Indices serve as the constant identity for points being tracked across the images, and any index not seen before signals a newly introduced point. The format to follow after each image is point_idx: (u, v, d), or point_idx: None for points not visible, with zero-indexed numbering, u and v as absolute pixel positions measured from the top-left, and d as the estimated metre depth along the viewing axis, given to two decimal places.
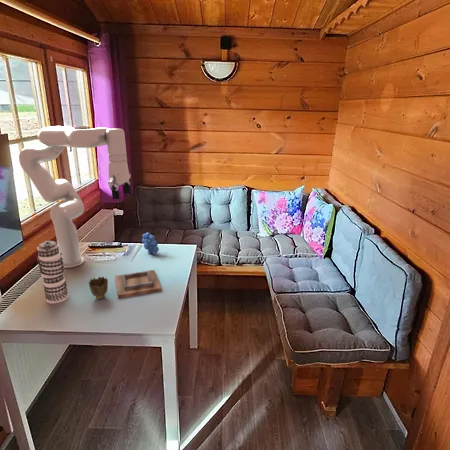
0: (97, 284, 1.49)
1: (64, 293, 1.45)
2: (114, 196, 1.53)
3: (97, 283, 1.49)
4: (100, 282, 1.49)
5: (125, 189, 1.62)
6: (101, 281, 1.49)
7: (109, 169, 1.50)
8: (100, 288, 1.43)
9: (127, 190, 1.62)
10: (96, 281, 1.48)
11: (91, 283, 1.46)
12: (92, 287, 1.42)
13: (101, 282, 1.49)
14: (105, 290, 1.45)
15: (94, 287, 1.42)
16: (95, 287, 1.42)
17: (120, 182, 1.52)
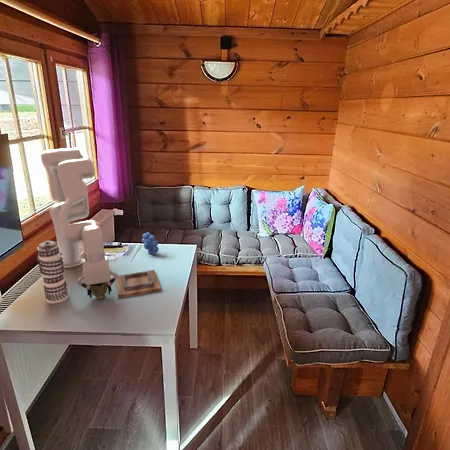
0: (97, 284, 1.49)
1: (64, 293, 1.45)
2: (111, 289, 1.48)
3: None
4: None
5: None
6: None
7: (108, 265, 1.43)
8: (100, 288, 1.43)
9: None
10: None
11: None
12: (92, 287, 1.42)
13: None
14: (105, 290, 1.45)
15: (94, 287, 1.42)
16: (95, 287, 1.42)
17: None
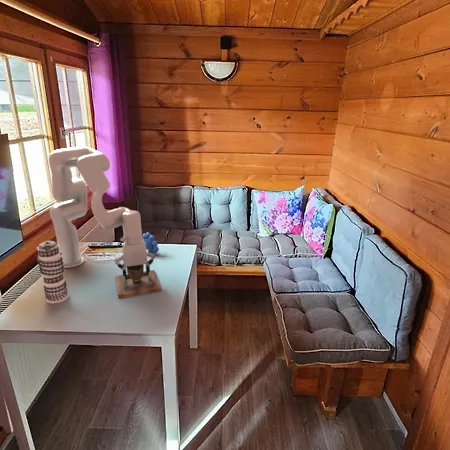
0: (133, 269, 1.59)
1: (64, 293, 1.45)
2: (149, 270, 1.58)
3: (133, 268, 1.59)
4: (136, 266, 1.59)
5: None
6: (137, 266, 1.59)
7: (145, 248, 1.52)
8: (137, 272, 1.53)
9: None
10: (132, 266, 1.58)
11: (128, 268, 1.56)
12: (130, 271, 1.52)
13: (137, 267, 1.59)
14: (141, 274, 1.55)
15: (132, 271, 1.52)
16: (133, 271, 1.52)
17: None
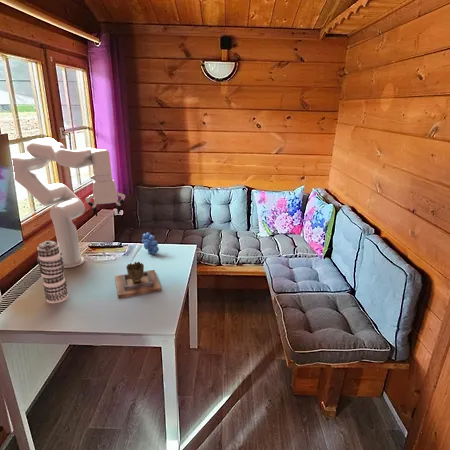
0: (133, 269, 1.59)
1: (64, 293, 1.45)
2: (120, 210, 1.64)
3: (133, 268, 1.59)
4: (136, 266, 1.59)
5: (96, 211, 1.60)
6: (137, 266, 1.59)
7: (115, 187, 1.58)
8: (137, 272, 1.53)
9: None
10: (132, 266, 1.58)
11: (128, 268, 1.56)
12: (130, 271, 1.52)
13: (137, 267, 1.59)
14: (141, 274, 1.55)
15: (132, 271, 1.52)
16: (133, 271, 1.52)
17: None
